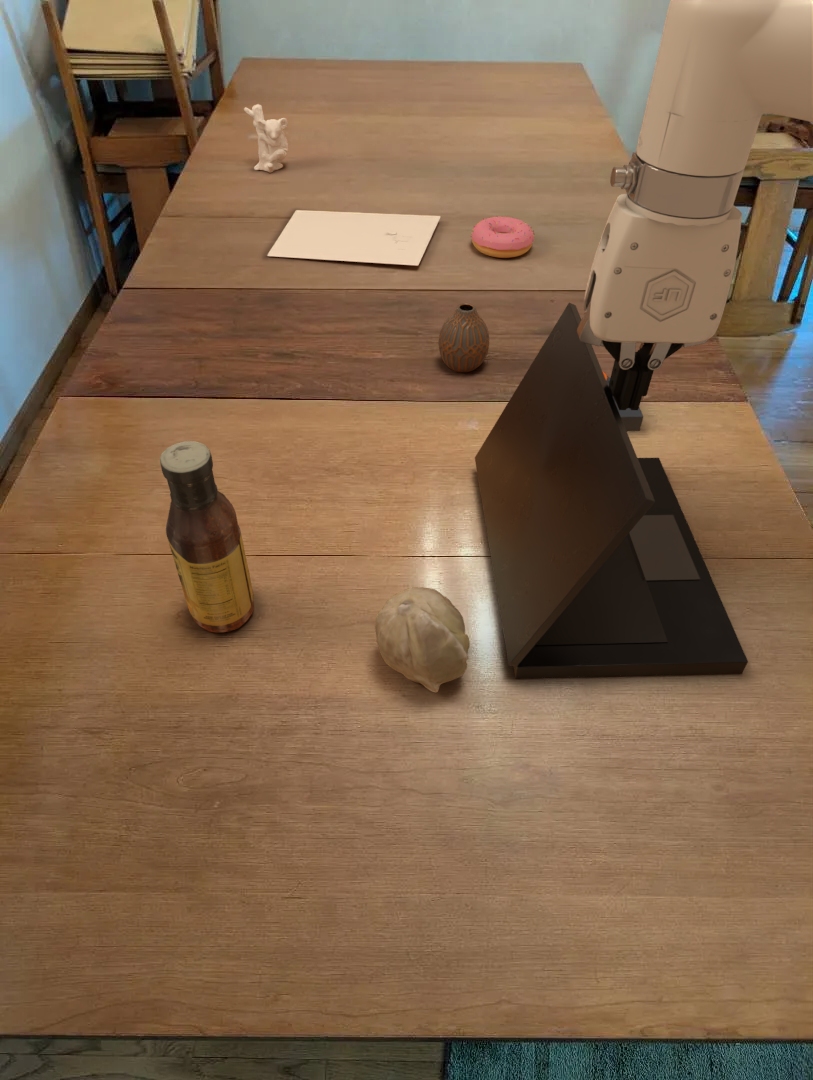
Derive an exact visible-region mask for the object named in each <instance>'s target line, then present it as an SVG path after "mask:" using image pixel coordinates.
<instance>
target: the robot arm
mask: <svg viewBox="0 0 813 1080" xmlns="http://www.w3.org/2000/svg"><path fill="white" fill-rule="evenodd" d="M653 69H654V70H653V73H652V77H651V78H652V79H651V82H650V87H649V90H648V94H647V95H648V96H647V100H646V105H645V108H644V113H643V118H642V122H641V127H640V131H639V135H638V140H637V145H636V149H635V152H632V155H631V159H630V161H629V162H628V164H624V165H622V166H613V167H612V170H611V172H610V179H609V181H610V183H609V184H610V187H612V188H620V189H621V190H624V191H625V192H626V193H621V194H619V195H618V196H617V198H616V200H615V202H614V204H613V207H612V208H611V211H610V213H609V214H608V215H609V216H608V218H607V220H606V223H605V226H604V228H603V231H602V233H601V236H600V239H599V242H598V245H597V248H596V251H595V254H594V256H593V257H594V258H593V261H592V264H591V269H590V270H589V271H590V272H589V275H588V278H587V283H586V288H585V292H584V296H583V305H582V306H583V311H584V314H583V315H582V318H581V322H580V324H579V326H578V328H577V334H578V336H579V339H580V341H581V342H583V343H587V344H591V345H592V346H595V347H603V348H604V349H605V350H606V351H607V352H608V354H609V355H610V356H611V357H612V358H613V359H614V362H613V366H612V370H611V374H610V381H609V389H610V392H611V394H612V396H614V398H615V401H616V403H617V406H618V408H619V410H626V409H628V408H629V409H631V410H638V409H639V408H640V405H641V401H642V398H643V397H646V396H647V394H648V391H649V388H650V385H651V381H652V379H653V375H654V371H656V370H659V369H660V368H661V367H662V366H663V364H664V361H665V360H666V359H668V358H669V357H671V356H672V355H674V354H675V353H676V352H678V351H679V350H681V349H682V348H684V349H685V348H689V347H694V346H699V345H703V344H706V343H707V342H708V341H709V339H711V338H712V337H714V336H715V334H716V333H717V330H718V328H719V326H720V323H721V320H722V317H723V315H724V311H725V308H726V303H727V300H728V296H729V293H730V288H731V286H732V285H731V284H732V279H733V275H734V271H735V266H736V261H737V255H738V249H739V244H740V236H741V230H742V229H741V228H742V217H743V214H742V211H741V210H740V209H739V208H737V207H736V205H735V204H734V203H735V200H736V198H737V194H738V191H739V188H740V184H741V182H742V179H743V175H744V172H745V169H746V166H747V163H748V159H749V156H750V154H751V150H752V147H753V144H754V141H755V139H756V138H755V137H756V134H757V131H758V128H759V125H760V122H761V119H762V116H763V115H765V114H770V115H776V116H782V117H787V118H791V119H796V120H801V121H805V122H810V123H813V0H669V3H668V8H667V11H666V15H665V20H664V24H663V28H662V33H661V38H660V42H659V46H658V51H657V54H656V60H655V65H654V68H653ZM638 343H639V344H640V345H639V348H638V349H637V344H638ZM636 349H637V351H636Z"/></svg>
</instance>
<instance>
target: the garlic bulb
mask: <svg viewBox="0 0 813 1080" xmlns="http://www.w3.org/2000/svg"><path fill="white" fill-rule="evenodd" d="M374 630H375V631H374V632H375V639H376V643H377V646H378V650H379V654H380V656H381V658H382V659H383V662H384V663H385V664H386V665H387V666H389V667H390V668H391V669H392V670H394V671H395V672H398V673H401V674H402V675H403V676H404V677H405V678H406V679H407V680H409V681H411V682H413V683H417V684H421V685H422V686H424V687H425V688H426V689H427V690H428V691H430V692H432V693H438V692H439V690H440V686H441V685H442V684H445V683H448V682H451V681H454V680H457V679H458V678H460V677H462V676H463V675H464V674H465V672H466V670H467V669H468V662H467V661H468V660H469V655H468V652H469V649H470V638H469V635H468V634H466V624H465V620H464V618H463V615H462V613H461V612H460V611H459V609H457V608H456V606H455V605H454V604H453V603H452V601H451V600H450V599H449V598H448V597H447V596H444V595H443V594H442V593H441V592H439V591H438V590H437V589H434V588H430V587H425V586H424V587H423V586H419V587H418V586H412V587H409V588H406V589H404V590H402V591H400V592H398V593H396V594H394V595H392V596H391V597H390V598H389V599H388V600H387V601H386V603H385V604H384V606H383V607H382V608H381V609H380V610H379V611H377V614H376V618H375V624H374Z"/></svg>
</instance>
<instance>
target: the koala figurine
mask: <svg viewBox="0 0 813 1080" xmlns="http://www.w3.org/2000/svg"><path fill="white" fill-rule="evenodd" d="M243 111H244V113H246V115H248V116H249V117H251V118H252V119H253V121H252V126H253V128H254V129H255V132H256V134H257V146H258V150H257V153H258V154H257V155H258V158H259V161H258V162H257V163H256V165H254V167H253V170H254V171H259V170H260V171H265V172H268V173H273V172H274V171H277V170H280V169H282V168H283V167H284V164H283V163H281V162H278V161H282V160H284V159H285V158H286V157H287V155H288V152H289V141H288V139H287V137H286V133H285V132H284V131H283V130H286V129H287V128H288V119H287V118H286V117H281V118H279V119H275V118H271V119H267V120H265V116H264V111H263V106H262V104H260V103H257V104H254V105H253V106H252V108H251V109H250V108H248V107H247V106H245V107H244V108H243Z"/></svg>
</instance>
